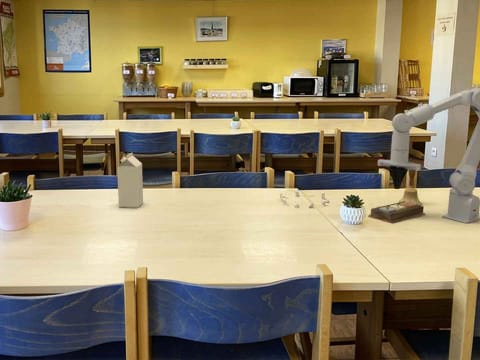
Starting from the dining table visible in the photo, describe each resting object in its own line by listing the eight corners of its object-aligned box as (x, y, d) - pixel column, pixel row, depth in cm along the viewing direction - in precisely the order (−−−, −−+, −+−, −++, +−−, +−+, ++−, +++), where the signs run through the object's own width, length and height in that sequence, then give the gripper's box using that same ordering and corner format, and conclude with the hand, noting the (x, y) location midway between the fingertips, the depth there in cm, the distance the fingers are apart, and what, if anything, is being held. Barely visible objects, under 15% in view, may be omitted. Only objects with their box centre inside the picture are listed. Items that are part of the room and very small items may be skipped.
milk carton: (143, 203, 204) (141, 152, 200) (137, 208, 197) (136, 156, 193) (124, 202, 204) (122, 152, 200) (118, 207, 197) (116, 155, 193)
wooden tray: (425, 214, 191) (425, 206, 191) (392, 223, 181) (392, 214, 180) (401, 208, 199) (402, 200, 198) (368, 216, 188) (369, 208, 188)
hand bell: (416, 207, 201) (420, 164, 198) (395, 204, 206) (398, 162, 202) (424, 203, 207) (428, 161, 204) (403, 199, 212) (406, 159, 209)
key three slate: (395, 216, 186) (396, 208, 185) (387, 218, 184) (388, 210, 183) (386, 213, 189) (386, 206, 189) (378, 215, 187) (378, 208, 186)
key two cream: (405, 213, 189) (406, 206, 189) (398, 215, 187) (398, 208, 186) (396, 211, 192) (396, 203, 192) (388, 212, 190) (389, 205, 189)
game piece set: (278, 195, 219) (278, 186, 218) (329, 197, 217) (329, 187, 216) (276, 208, 200) (276, 198, 199) (332, 210, 198) (332, 199, 197)
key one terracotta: (415, 211, 192) (416, 204, 192) (408, 213, 190) (408, 205, 190) (406, 208, 196) (406, 201, 195) (398, 210, 193) (399, 203, 193)
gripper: (425, 150, 184) (422, 189, 187) (384, 145, 193) (382, 183, 196) (417, 152, 179) (414, 193, 182) (376, 148, 188) (373, 186, 191)
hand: (397, 188), depth 189 cm, fingers closed
